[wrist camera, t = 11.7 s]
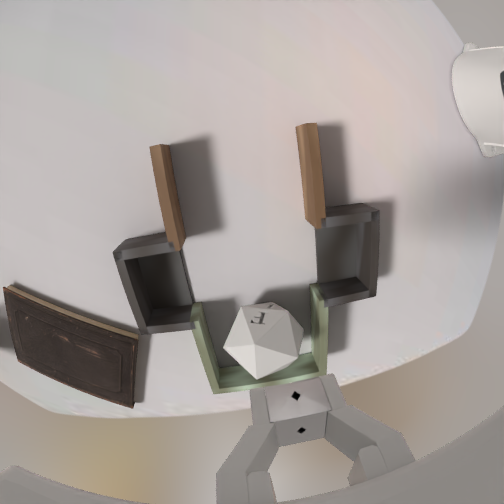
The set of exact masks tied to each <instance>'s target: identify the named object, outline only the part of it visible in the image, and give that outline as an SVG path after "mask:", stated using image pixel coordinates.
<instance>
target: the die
mask: <svg viewBox="0 0 504 504" xmlns="http://www.w3.org/2000/svg"><path fill="white" fill-rule="evenodd" d="M303 333H304V329H303V328H302V327H301V325H300V324H299V323H298V322H297V321H296V320H295V318H294V317H293V316H292V315H291V314H290V313H289V312H288V311H287V310H286V309H284V308H282V307H280V306H279V305H277V304H275V303H274V302H268V303H263V304H254V305H247V306H241V307H240V310H239V312H238V314H237V317H236V319H235V321H234V324H233V326H232V328H231V331H230V333H229V335H228V338H227V340H226V342H225V345H224V347H223V348H224V349H225V350H226V351H227V352H228V353H229V354H230V355H231V356H232V357H233V358H234V359H235V360H236V361H237V362H238V363H239V364H240V365H241V366H243V367H244V368H245V369H246V370H247V371H248V372H249V373H250V374H251V375H252V376H253V377H254V378H256V379H259V378H262V377H264V376H267V375H269V374H272V373H274V372H277V371H279V370H281V369H284V368H286V367H288V366H289V365H290V364H291V363H292V362H294V361H295V360H296V359H297V358H298V356H299V351H300V347H301V342H302V337H303Z"/></svg>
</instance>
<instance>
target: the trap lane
mask: <svg viewBox="0 0 504 504" xmlns="http://www.w3.org/2000/svg"><path fill="white" fill-rule="evenodd" d="M296 134H297V142H298V150H299V159H300V167H301V177H302V187H303V197H304V208H305V219H306V220H307V221H308V222H309V223H310V224H311V225H313V226H314V227H315V238H316V256H317V280H318V283H314V284H310V304H311V343H312V353H307V354H303V355H299V356H298V358H297V359H296V360H295V361H294V362H292V363H291V364H290V365H289V366H288V367H286V368H284V369H281V370H279V371H277V372H274V373H272V374H269V375H267V376H264V377H262V378H259V379H256V378H254V377H253V376H252V375H251V374H250V373H249V372H248V371H247V370H246V369H245V368H244V367H243V366H241V365H239V366H232V367H224V368H219V365H218V362H217V358H216V355H215V351H214V348H213V344H212V341H211V337H210V334H209V330H208V326H207V323H206V319H205V315H204V311H203V307H202V303H201V302H197V303H193V301H192V298H191V294H190V290H189V286H188V282H187V278H186V274H185V270H184V266H183V262H182V258H181V253H180V250H181V248H182V246H183V244H184V241H185V239H186V235H185V230H184V225H183V220H182V215H181V210H180V205H179V200H178V194H177V189H176V183H175V178H174V172H173V166H172V160H171V154H170V148H169V145H163V144H159V145H155V146H151V147H150V153H151V159H152V165H153V171H154V176H155V182H156V187H157V192H158V197H159V202H160V207H161V212H162V217H163V221H164V226H165V230H166V232H164V233H158V234H153V235H147V236H142V237H137V238H132V239H126V240H125V241H123V242H122V243H121V244H120V245H119V246H118V247H117V248H116V249H115V250H114V251H113V255H114V259H115V262H116V265H117V268H118V272H119V275H120V278H121V281H122V284H123V287H124V290H125V293H126V295H127V298H128V301H129V304H130V306H131V309H132V312H133V315H134V317H135V320H136V322H137V325H138V327H139V330H140V332H141V335H143V334H155V333H165V332H174V331H183V330H192V332H193V335H194V338H195V341H196V345H197V348H198V351H199V354H200V357H201V360H202V363H203V366H204V369H205V372H206V375H207V377H208V380H209V383H210V386H211V389H212V391H213V394H220V393H229V392H237V391H245V390H250V389H253V388H261V387H264V388H265V387H267V386H274V385H281V384H287V383H292V382H296V381H300V380H305V379H309V378H314V377H319V376H323V375H326V373H327V351H328V307H331V306H335V305H340V304H344V303H349V302H353V301H357V300H362V299H366V298H370V297H374V296H376V290H377V277H378V259H379V210H377V209H374V208H372V207H370V206H368V205H365V204H363V203H359V204H350V205H342V206H334V207H326V208H325V199H324V186H323V174H322V164H321V154H320V145H319V137H318V129H317V123H306V124H303V125H300V126H297V127H296Z"/></svg>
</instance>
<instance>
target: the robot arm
mask: <svg viewBox="0 0 504 504" xmlns="http://www.w3.org/2000/svg"><path fill="white" fill-rule="evenodd" d="M452 86H453V92H454V96H455V100H456V104H457V107H458V109H459V112H460V114H461V117H462V119H463V121H464V123H465V124H466V126H467V128H468V129H469V131H470V132H471V133H472V135H473V136H474V137H475V138H476V140H477V141H478V144H479V146H480V149H481V152H482V154H483V155H484V157H493V156H497V155H500V154H503V153H504V47H502V46H501V47H489V48H481V49H480V48H478V47H477V46H476V45H474V44H473V43H466V44H465V46H464V50H463V53H462V54H461V55H460V56H458V57H457V58H456V60H455V62H454V64H453V69H452ZM265 394H266V395H265ZM250 400H251V409H252V419H253V425H252V426H249V427H248V429H247V430H246V431H245V433H244V434H243V436H242V437H241V439H240V441H239V442H238V443H237V445H236V446H235V448H234V449H233V451H232V452H231V454H230V455H229V456H228V458H227V459H226V461H225V462H224V464H223V465H222V466H221V468H220V469H219V471H218V472H217V474H216V494H217V495H216V496H217V504H504V406H503V407H501V408H500V409H499V410H497V411H496V412H495V413H493V414H492V415H491V416H489V417H488V418H487V419H485V420H484V421H482V422H481V423H480V424H478V425H477V426H476V427H474V428H472V429H471V430H469V431H468V432H466V433H465V434H463V435H462V436H460V437H458V438H457V439H455V440H453V441H452V442H450V443H448V444H446V445H445V446H443V447H441V448H440V449H438V450H436V451H434V452H432V453H430V454H428V455H426V456H424V457H422V458H420V459H418V460H415V459H414V457H413V454H412V452H411V450H410V449H409V447H408V445H407V443H406V441H405V439H404V437H403V435H402V433H401V432H399V431H397V430H395V429H393V428H391V427H389V426H388V425H386V424H384V423H382V422H380V421H379V420H377V419H375V418H373V417H371V416H369V415H368V414H366V413H364V412H363V411H361V410H359V409H358V408H356V407H354V406H353V405H349V406H347V403H346V401H345V399H344V397H343V394H342V392H341V390H340V387H339V385H338V383H337V380H336V378H335V376H334V374H328V375H323V376H319V377H314V378H309V379H305V380H300V381H296V382H292V383H287V384H281V385H274V386H267V387H265V389H264V387H261V388H253V389H250ZM324 437H325V439H326V440H327V441H328V442H330V443H331V444H332V445H333V446H335V447H336V448H337V449H339V450H340V451H341V452H342V453H343V454H345V455H346V456H347V457H349V458H350V459H351V460H352V461H354V464H353V467H352V469H351V471H350V474H349V476H348V480H349V484H350V487H346V488H342V489H339V490H336V491H332V492H328V493H324V494H320V495H315V496H311V497H306V498H301V499H296V500H290V501H284V502H278V503H277V502H276V496H275V492H274V488H273V484H272V481H271V477H270V473H268V472H267V471H268V469H269V467H270V465H271V463H272V461H273V459H274V457H275V455H276V453H277V451H278V448H279V447H281V446H286V445H291V444H296V443H300V442H305V441H310V440H315V439H320V438H324ZM0 504H147V503H140V502H133V501H128V500H122V499H117V498H112V497H108V496H103V495H99V494H95V493H92V492H88V491H84V490H81V489H77V488H74V487H71V486H68V485H65V484H62V483H59V482H56V481H53V480H51V479H48V478H45V477H43V476H40V475H38V474H35V473H33V472H31V471H29V470H26V469H24V468H22V467H20V466H16V465H12V466H10V467H8V468H6V469H4V470H2V471H1V472H0Z"/></svg>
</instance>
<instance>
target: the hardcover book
mask: <svg viewBox="0 0 504 504" xmlns="http://www.w3.org/2000/svg"><path fill="white" fill-rule="evenodd" d="M3 291H4V298H5V305H6V311H7V316H8V321H9V326H10V331H11V336H12V340H13V344H14V348H15V352H16V355H17V359H18V362H20V363H22V364H24V365H26V366H28V367H30V368H31V369H33V370H35V371H37V372H39V373H41V374H43V375H46V376H48V377H50V378H52V379H54V380H56V381H59V382H61V383H63V384H65V385H68V386H70V387H72V388H75V389H77V390H80V391H82V392H85V393H88V394H90V395H93V396H96V397H98V398H101V399H104V400H107V401H110V402H113V403H116V404H119V405H122V406H126V407H129V408H132V409H133V407H134V404H135V402H133V401H134V383H135V370H136V358H137V348H138V334H135V333H131V332H128V331H125V330H122V329H118V328H115V327H112V326H109V325H106V324H103V323H101V322H98V321H95V320H92V319H89V318H86V317H84V316H81V315H78V314H76V313H73V312H70V311H68V310H65V309H63V308H60V307H58V306H55V305H53V304H51V303H48V302H46V301H43V300H41V299H39V298H37V297H34V296H32V295H30V294H28V293H26V292H23V291H21V290H19V289H17V288H15V287H13V286H11V285H10V286H8V287H7V288H6V287H3Z"/></svg>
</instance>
